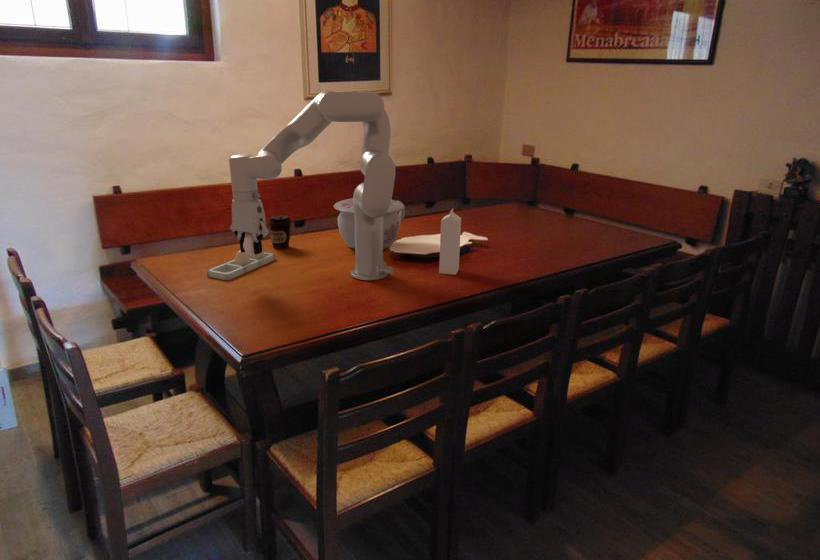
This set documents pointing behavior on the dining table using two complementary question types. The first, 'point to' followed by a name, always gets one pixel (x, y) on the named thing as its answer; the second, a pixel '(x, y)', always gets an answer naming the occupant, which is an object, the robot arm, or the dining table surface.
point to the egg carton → (238, 267)
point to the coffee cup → (280, 231)
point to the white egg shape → (248, 244)
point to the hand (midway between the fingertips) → (251, 251)
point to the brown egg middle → (241, 259)
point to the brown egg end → (258, 256)
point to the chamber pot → (389, 222)
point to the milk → (450, 244)
